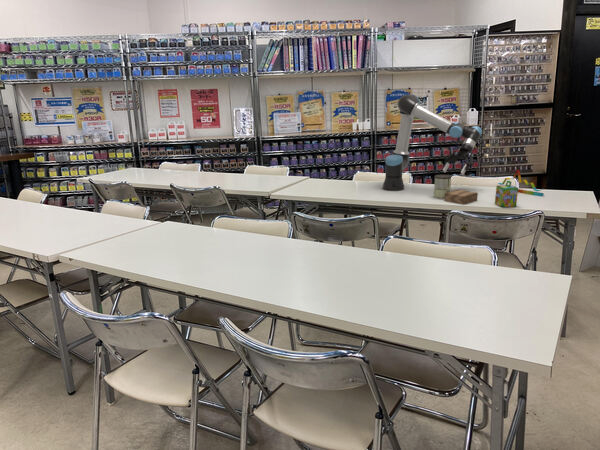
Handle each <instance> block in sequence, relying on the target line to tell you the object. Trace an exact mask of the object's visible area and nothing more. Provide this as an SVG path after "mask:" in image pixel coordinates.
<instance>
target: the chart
mask: <svg viewBox="0 0 600 450" xmlns="http://www.w3.org/2000/svg"><path fill="white" fill-rule="evenodd" d="M516 176H517V177H518V184H522V183H524V184H525V185H526V186H529V185H530V186H531V187H532V189H533V191H532V190H527V189H522V188H521V189H520V188H518V194H524V195H530V196H537V197H544V193H543V192H540V191H543V190H545V189H544V188H541V189H537V188H536V186H535V184H534V182H528V180H527V179H523V180H522V177H521V171H520V169H517V170H516V171H515V173H514V175H513V177H511V178H510V177H505V178H504V179H503V182H498V183H497V185H505V184H506V183H507V180H508V181H511V180H513V179H514V180H515V179H516Z"/></svg>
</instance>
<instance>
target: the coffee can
mask: <svg viewBox="0 0 600 450" xmlns="http://www.w3.org/2000/svg"><path fill="white" fill-rule="evenodd" d="M451 183H452V175H449V174H435V175H434V186H433V188H434V189H433V198H435V199H438V200H445V193H447V192H451V190H452V189H451V187H452V185H451Z"/></svg>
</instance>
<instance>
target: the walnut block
mask: <svg viewBox="0 0 600 450" xmlns="http://www.w3.org/2000/svg"><path fill="white" fill-rule="evenodd" d="M478 195H479V192H475V191H468V190H462V189H455V190H450V192H447V193H445V199H444V201H445V202H449V203H453V204H454V203H455V204H461V205H467V204H471V203H474V202H477V201H478Z"/></svg>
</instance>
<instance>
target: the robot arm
mask: <svg viewBox="0 0 600 450" xmlns="http://www.w3.org/2000/svg"><path fill="white" fill-rule="evenodd" d="M420 102H421V101H420V98H419V97H418V96H417V95H415V94H411V93H410V94H404V95H402V96H401V97H400V98H398V100H397V107H398V109H399V115H400V121H399V129H398V133H397V139H396V146H395V150H393V151H392V154H391V155H387V156H386V158H385V176H384V177H385V179H384V181H383V184H382V189H383V190H386V191H391V192H392V191H393V192H395V191H397V192H398V191H403V190H405V183H404V180H403V171H405V170H406V169H407V168H408V166H409V164H410V157H409V156H410V152H409V151H408V150H409V147H410V139H411V134H412V129H413V124H414V123H413V122H414V118H418V119H420V120H421V121H423V122H425V123H427V124H428V125H430V126H432V127H435V128H436V129H438V130H440V131H442V132H444V133H446V134H448V135H449V136H450V137H451V138H453V139H457V138H460V137H462V138H463V139H464V141H463V143H462V144H461V146H460V147H459V151H456V150H454V151H453V153H451V154H450V155H449V156H447V158H446V159H444V162H445V164H444V165H443V166H444V167H443V169H442V171H443V173H446V172H447V170H448V168H449V167H450V164H451V163H453V162H455V161H457V160H464V161H465V163H466V164H465V165H464V166H463V167H462V169H461V171H460V174H461V175H462V176H464V175H465V173H466V171H468V169H469V168H470V167H473V166H474V152H473V149H474V148H475V146H476V144H477V143H478V141H479V140H480V138H481V136H482V134H483V130H482V127H480V126H478V125H473V126H472V127H469V126H467V125H464V124H462V123H460V122H458V121H454V122H452V121H450V120H448V119H446V118H444V117H442V116H441V115H439V114H437V113H435V112H434V111H431V110H430V109H428V108H426V107H424V106H421V103H420ZM468 159H469V160H468Z"/></svg>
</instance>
